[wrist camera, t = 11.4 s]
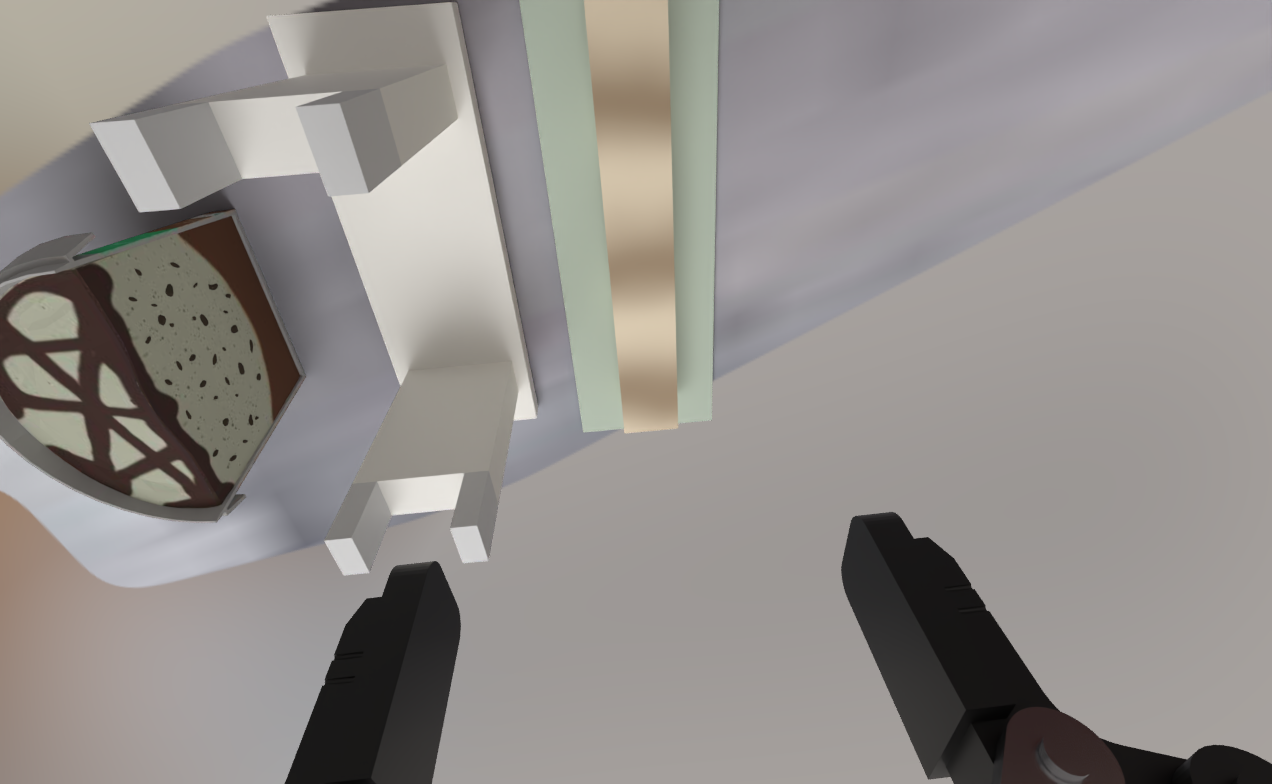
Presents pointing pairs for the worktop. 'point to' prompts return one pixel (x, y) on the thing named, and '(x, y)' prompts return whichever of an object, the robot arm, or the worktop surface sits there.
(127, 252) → the food container
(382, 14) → the rack
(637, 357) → the rail
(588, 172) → the mat
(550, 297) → the worktop surface
